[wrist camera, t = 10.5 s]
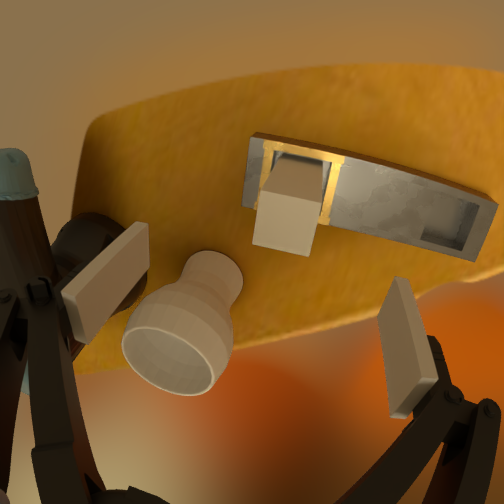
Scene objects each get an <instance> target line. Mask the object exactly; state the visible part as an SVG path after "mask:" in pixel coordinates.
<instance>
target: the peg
mask: <svg viewBox="0 0 504 504" xmlns="http://www.w3.org/2000/svg"><path fill="white" fill-rule="evenodd" d="M322 181H323V161H320V160H316V159H311V158H306V157H301V156H297V155H292V154H287V153H282V155H281V156H280V158H279V160H278V161H277V163H276V165H275V166H274V168H273V170H272V171H271V173H270V175H269V176H268V178H267V180H266V181H265V183H264V185H263V187H262V188H261V190H260V196H259V202H258V209H257V215H256V222H255V229H254V235H253V242H252V244H253V245H258V246H262V247H267V248H271V249H276V250H280V251H285V252H289V253H294V254H298V255H303V256H307V257H309V254H310V250H311V246H312V242H313V238H314V234H315V230H316V226H317V222H318V218H319V214H320V210H321V205H322Z"/></svg>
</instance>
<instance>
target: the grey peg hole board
mask: <svg viewBox="0 0 504 504" xmlns="http://www.w3.org/2000/svg"><path fill="white" fill-rule="evenodd" d="M282 153H287V154H292V155H297V156H301V157H306V158H311V159H316V160H320V161H323V181H322V205H321V210H320V214H319V218H318V222H317V223H319V224H323V225H331V226H336V227H340V228H344V229H348V230H353V231H357V232H361V233H365V234H369V235H373V236H377V237H381V238H385V239H389V240H393V241H397V242H401V243H405V244H409V245H413V246H417V247H421V248H424V249H428V250H432V251H436V252H439V253H443V254H447V255H450V256H454V257H458V258H461V259H465V260H468V261H472V262H475V261H476V258H477V256H478V254H479V252H480V250H481V247H482V245H483V243H484V240H485V238H486V236H487V233H488V231H489V228H490V226H491V223H492V221H493V218H494V216H495V213H496V210H497V208H498V205H499V204H498V203H496V202H495V201H494V200H493V199H492V198H491V197H489V196H488V195H487V194H484V193H482V192H479V191H476V190H474V189H471V188H468V187H466V186H463V185H460V184H457V183H455V182H452V181H449V180H446V179H443V178H440V177H437V176H434V175H431V174H428V173H425V172H422V171H419V170H415V169H412V168H409V167H406V166H402V165H399V164H395V163H392V162H388V161H385V160H381V159H378V158H374V157H370V156H366V155H362V154H359V153H355V152H351V151H346V150H342V149H338V148H334V147H329V146H325V145H321V144H316V143H311V142H306V141H302V140H297V139H292V138H286V137H281V136H275V135H270V134H264V133H258V132H256V133H255V134H254V135H252V136H251V137H250V144H249V151H248V158H247V166H246V173H245V181H244V189H243V196H242V204H241V206H243V207H248V208H253V209H254V210H257V209H258V202H259V196H260V190H261V188H262V187H263V185H264V183H265V181H266V180H267V178H268V176H269V175H270V173H271V171H272V170H273V168H274V166H275V165H276V163H277V161H278V160H279V158H280V156H281V155H282Z"/></svg>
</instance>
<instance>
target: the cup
mask: <svg viewBox="0 0 504 504" xmlns="http://www.w3.org/2000/svg"><path fill="white" fill-rule="evenodd" d="M242 286H243V277H242V274H241V271H240V269H239V267H238V266H237V265H236V264H235V262H234V261H232V260H231V259H230V258H229V257H227V256H225V255H223V254H222V253H219V252H215V251H201V252H197V253H195V254H194V255H192V256H191V257H190V258H189V259H188V260H187V262H186V264H185V266H184V269H183V271H182V274H181V276H180V278H179V279H178V280H177V281H176V282H175V283H171V284H167V285H165V286H163V287H161V288H159V289H158V290H156V291H154V292H153V293H151V294H149V295H148V296H146V297H144V299H143V300H142V301H141V303H140V304H139V305H138V306H137V308H136V309H135V310H134V312H133V313H132V314H131V316H130V317H129V320H128V323H127V326H126V328H125V331H124V334H123V337H122V342H121V345H122V351H123V354H124V356H125V358H126V360H127V362H128V363H129V365H130V366H131V367H132V369H133V370H134V371H135V372H136V373H137V374H138V375H140V376H141V377H142V378H143V379H145V380H146V381H147V382H149V383H150V384H152V385H154V386H156V387H158V388H160V389H161V390H164V391H167V392H170V393H173V394H178V395H183V396H195V395H199V394H203V393H205V392H207V391H208V390H210V389H211V387H212V386H213V385H214V383H215V382H216V380H217V379H218V378H219V377H220V375H221V374H222V372H223V371H224V370H225V368H226V367H227V364H228V361H229V358H230V356H231V353H232V348H233V326H232V320H231V316H230V313H229V311H230V306H231V305H232V304H233V302H234V301H235V300H236V298H237V297H238V295H239V293H240V292H241V290H242Z"/></svg>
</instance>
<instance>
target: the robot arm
mask: <svg viewBox="0 0 504 504" xmlns="http://www.w3.org/2000/svg"><path fill="white" fill-rule="evenodd" d="M38 194H39V191H38V188H37V187H36V186H35V183H34V179H33V175H32V171H31V166H30V162H29V159H28V157H27V155H26V154H25V153H24V152H23V151H21V150H19V149H16V148H5V149H0V504H10V501H9V499H8V497H7V495H6V493H7V487H8V483H9V476H10V466H11V454H12V444H13V434H14V428H15V420H16V414H17V408H18V402H19V397H20V392H21V391H22V392H23V393H25V394H27V395H30V406H31V415H32V423H33V431H34V438H35V448H33V449H32V451H31V457H32V463H33V468H34V473H35V478H36V483H37V487H38V491H39V496H40V500H41V503H42V504H170V503H168V502H166V501H165V500H163V499H161V498H160V497H158V496H155V495H152V494H150V493H147V492H144V491H142V490H139V489H137V488H134V487H132V486H129V487H128V490H118V489H116V490H106V488H105V485H104V483H103V481H102V479H101V477H100V475H99V473H98V471H97V467H96V464H95V461H94V458H93V454H92V451H91V447H90V443H89V440H88V436H87V432H86V429H85V425H84V420H83V416H82V412H81V407H80V402H79V397H78V392H77V387H76V382H75V377H74V370H73V364H72V362H73V361H74V360H75V358H76V357H77V355H78V354H79V353H80V351H81V350H82V349H83V347H84V346H85V345H86V344H87V345H89V343H90V342H91V341H92V339H93V338H94V337H95V335H96V334H97V333H98V331H99V330H100V329H101V327H102V326H103V325H104V324H105V322H106V321H107V320H108V319H109V318H110V317H112V316H113V315H115V314H116V313H118V312H120V311H123V310H125V309H127V308H129V307H130V306H132V305H133V304H134V303H135V301H136V300H137V299H138V298H139V296H140V295H141V294H142V292H143V291H144V288H145V285H146V280H147V273H146V271H147V270H148V268H149V267H150V258H149V228H148V223H143V222H138V221H136V222H135V223H133V224H132V225H131V226H130V227H129V228H128V229H127V230H125V229H124V228H122V227H121V226H120V225H119V224H118V223H116V222H115V221H113V220H112V219H110V218H108V217H106V216H104V215H101V214H97V213H83V214H80V215H78V216H76V217H75V218H73V219H72V220H70V221H69V222H67V223H66V224H65V225H64V226H63V227H62V229H61V230H60V232H59V233H58V236H57V238H56V240H55V241H54V243H53V244H52V245H51V246H50V243H49V240H48V236H47V233H46V229H45V225H44V221H43V218H42V214H41V210H40V206H39V202H38V197H37V195H38ZM377 319H378V325H379V331H380V337H381V344H382V351H383V358H384V366H385V374H386V381H387V391H388V400H389V410H390V418H403V419H405V418H406V417H408V415H409V414H410V413H411V412H412V411H413V418H414V419H413V420H412V421H411V422H410V423H409V424H408V425H407V426H406V427H405V428H404V430H403V431H402V433H401V434H400V435H399V437H398V438H397V439H396V440H395V441H394V442H393V444H392V445H391V446H390V447H389V448H388V449H387V450H386V452H385V453H384V454H383V455H382V456H381V457H380V458H379V459H378V461H377V462H376V463H375V464H374V465H373V466H372V467H371V468H370V469H369V470H368V471H367V472H366V473H365V474H364V475H363V476H362V477H361V478H360V479H359V480H358V481H357V482H356V483H355V484H354V485H353V486H352V487H351V488H350V489H349V490H348V491H347V492H346V493H345V494H344V495H342V496H341V497H340V498H339V499H338V500H337V501H336V502H335V503H334V504H396V503H397V502H398V501H399V500H400V499H401V497H402V496H403V495H404V493H405V492H406V491H407V490H408V489H409V487H410V486H411V485H412V483H413V482H414V481H415V480H416V478H417V477H418V476H419V474H420V473H421V471H422V470H423V468H424V467H425V466H426V464H427V463H428V462H429V460H430V459H431V457H432V456H433V454H434V453H435V451H436V450H437V448H438V447H439V445H440V444H441V442H444V445H443V448H442V451H441V455H440V457H439V460H438V463H437V466H436V469H435V472H434V474H433V477H432V480H431V482H430V485H429V487H428V490H427V492H426V495H425V497H424V499H423V502H422V504H484V503H485V500H486V496H487V492H488V488H489V484H490V480H491V475H492V471H493V466H494V461H495V455H496V450H497V444H498V437H499V430H500V422H501V410H500V408H499V406H498V405H497V403H496V402H494V401H493V400H492V399H488V398H486V399H483V400H481V401H480V402H479V403H478V404H475V403H472V402H469V401H467V400H465V399H464V395H463V393H462V392H461V390H460V389H459V388H458V387H456V386H454V385H452V383H451V379H450V375H449V372H448V368H447V365H446V362H445V358H444V355H443V352H442V348H441V345H440V343H439V342H438V341H437V339H436V338H435V337H434V336H429V335H426V332H425V328H424V325H423V322H422V319H421V316H420V313H419V310H418V307H417V304H416V301H415V298H414V295H413V292H412V289H411V286H410V283H409V281H408V279H406V278H401V277H396V276H395V277H394V280H393V282H392V284H391V287H390V289H389V291H388V294H387V296H386V298H385V300H384V303H383V305H382V307H381V309H380V312H379V314H378V316H377Z"/></svg>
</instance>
